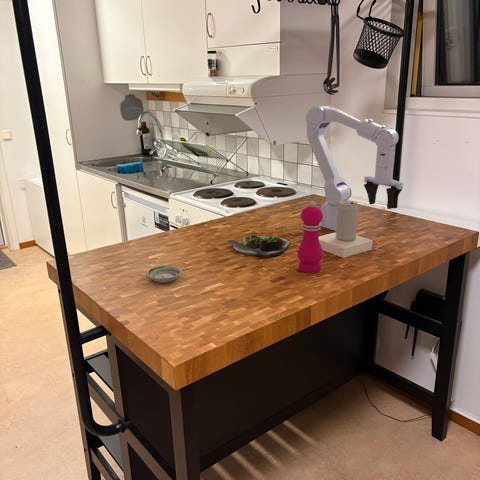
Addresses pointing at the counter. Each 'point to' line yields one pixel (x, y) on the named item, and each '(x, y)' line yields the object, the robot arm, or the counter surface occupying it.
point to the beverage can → (346, 220)
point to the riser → (344, 245)
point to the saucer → (164, 273)
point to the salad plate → (261, 245)
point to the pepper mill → (310, 240)
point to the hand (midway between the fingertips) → (380, 206)
